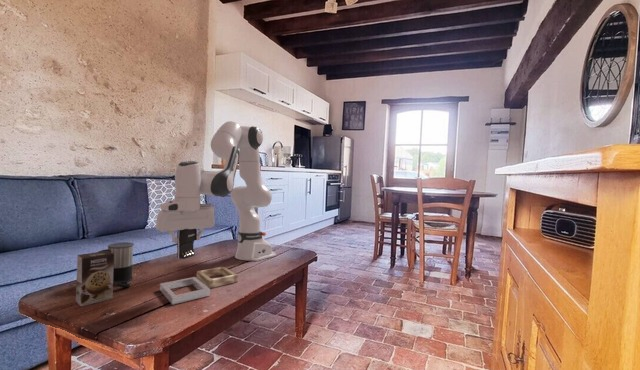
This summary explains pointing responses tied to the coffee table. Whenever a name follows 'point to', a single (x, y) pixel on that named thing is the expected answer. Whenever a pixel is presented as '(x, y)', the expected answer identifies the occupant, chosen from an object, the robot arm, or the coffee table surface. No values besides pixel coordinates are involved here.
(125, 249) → the milk frother
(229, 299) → the coffee table surface
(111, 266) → the cookie box
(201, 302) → the coffee table surface
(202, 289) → the frame
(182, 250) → the battery charger
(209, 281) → the tan wooden frame
